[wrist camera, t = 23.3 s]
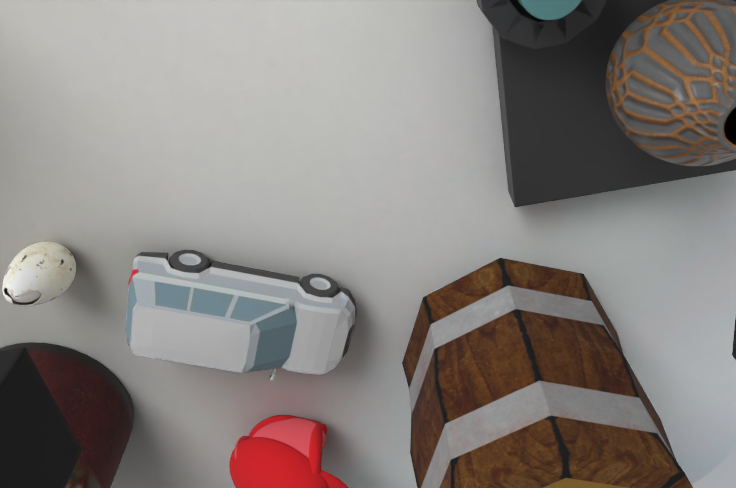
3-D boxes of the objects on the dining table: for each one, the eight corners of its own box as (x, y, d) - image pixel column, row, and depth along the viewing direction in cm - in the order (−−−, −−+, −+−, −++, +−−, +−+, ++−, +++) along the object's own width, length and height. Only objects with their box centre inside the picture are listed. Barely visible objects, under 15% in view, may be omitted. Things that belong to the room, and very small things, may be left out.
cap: (241, 471, 50) (227, 545, 44) (230, 407, 47) (214, 479, 42) (354, 468, 50) (354, 542, 44) (351, 404, 47) (349, 475, 41)
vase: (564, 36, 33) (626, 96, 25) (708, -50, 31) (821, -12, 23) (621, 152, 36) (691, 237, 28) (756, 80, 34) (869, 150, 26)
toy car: (342, 352, 44) (340, 407, 40) (136, 315, 43) (110, 369, 39) (362, 276, 42) (362, 328, 37) (142, 235, 40) (115, 283, 36)
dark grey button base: (462, -86, 32) (473, -78, 29) (754, -146, 31) (797, -144, 28) (492, 194, 39) (504, 224, 36) (731, 154, 38) (763, 181, 35)
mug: (385, 275, 42) (397, 474, 29) (617, 240, 41) (739, 431, 28) (427, 499, 51) (450, 723, 38) (615, 475, 50) (705, 698, 37)
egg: (54, 284, 42) (18, 336, 37) (16, 243, 40) (-26, 292, 36) (96, 262, 41) (64, 313, 37) (59, 220, 40) (22, 267, 35)
